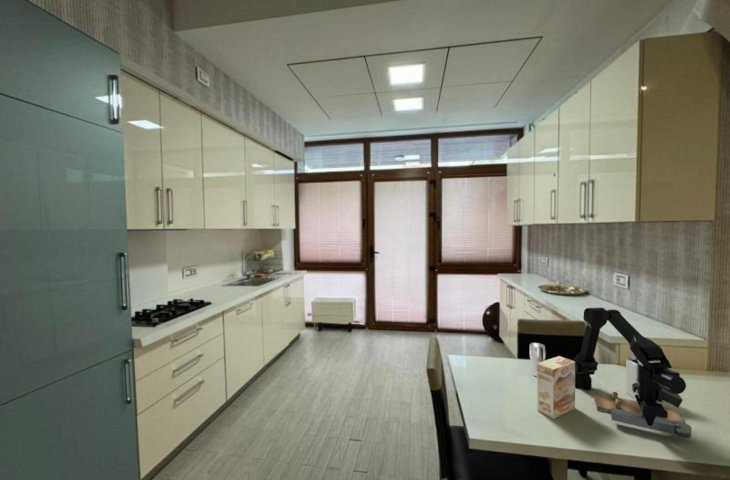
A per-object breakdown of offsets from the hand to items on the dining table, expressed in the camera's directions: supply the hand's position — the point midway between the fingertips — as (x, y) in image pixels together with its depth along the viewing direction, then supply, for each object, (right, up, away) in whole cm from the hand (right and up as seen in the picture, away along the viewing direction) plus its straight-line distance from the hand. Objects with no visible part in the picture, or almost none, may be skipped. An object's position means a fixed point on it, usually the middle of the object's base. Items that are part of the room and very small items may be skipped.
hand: (648, 422), depth 112 cm
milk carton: (+17, -3, +23) cm, 28 cm away
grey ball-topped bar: (0, -1, 0) cm, 1 cm away
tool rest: (+6, -3, +13) cm, 14 cm away
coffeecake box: (-23, -4, +15) cm, 28 cm away
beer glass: (-14, -3, +46) cm, 48 cm away
